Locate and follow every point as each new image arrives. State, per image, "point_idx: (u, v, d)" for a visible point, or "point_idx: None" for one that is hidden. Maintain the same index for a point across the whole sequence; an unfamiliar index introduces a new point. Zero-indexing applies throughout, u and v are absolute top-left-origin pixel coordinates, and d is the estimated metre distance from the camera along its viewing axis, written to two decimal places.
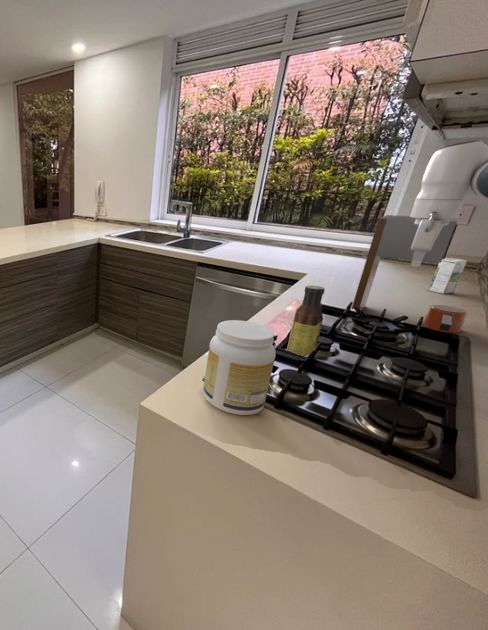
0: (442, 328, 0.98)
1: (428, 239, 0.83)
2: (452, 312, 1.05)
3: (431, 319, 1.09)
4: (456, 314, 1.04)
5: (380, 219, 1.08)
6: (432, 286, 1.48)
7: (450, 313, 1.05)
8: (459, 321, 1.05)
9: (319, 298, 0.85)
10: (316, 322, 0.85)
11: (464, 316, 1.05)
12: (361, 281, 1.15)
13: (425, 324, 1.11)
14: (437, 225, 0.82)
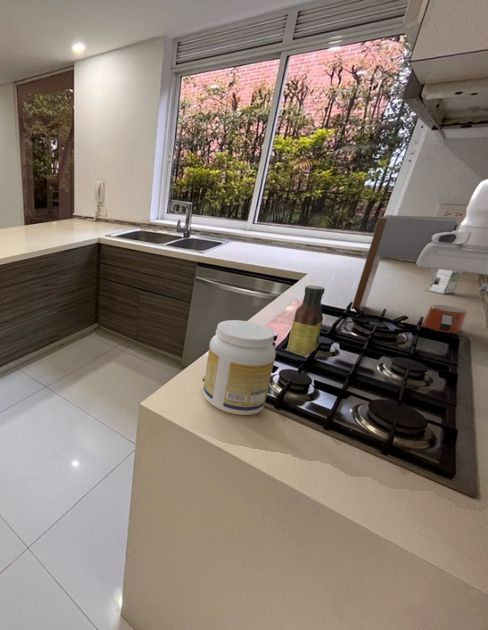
0: (442, 328, 0.98)
1: None
2: (452, 312, 1.05)
3: (431, 319, 1.09)
4: (456, 314, 1.04)
5: (380, 219, 1.08)
6: (432, 286, 1.48)
7: (450, 313, 1.05)
8: (459, 321, 1.05)
9: (319, 298, 0.85)
10: (316, 322, 0.85)
11: (464, 316, 1.05)
12: (361, 281, 1.15)
13: (425, 324, 1.11)
14: None
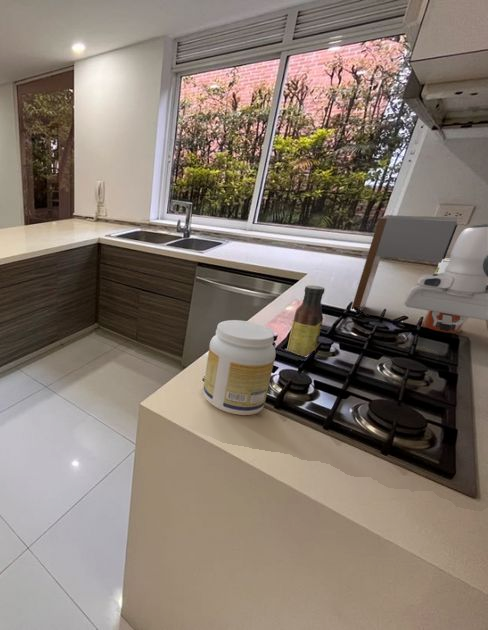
0: (442, 328, 0.98)
1: None
2: None
3: (431, 319, 1.09)
4: None
5: (380, 219, 1.08)
6: None
7: None
8: None
9: (319, 298, 0.85)
10: (316, 322, 0.85)
11: None
12: (361, 281, 1.15)
13: (425, 324, 1.11)
14: None
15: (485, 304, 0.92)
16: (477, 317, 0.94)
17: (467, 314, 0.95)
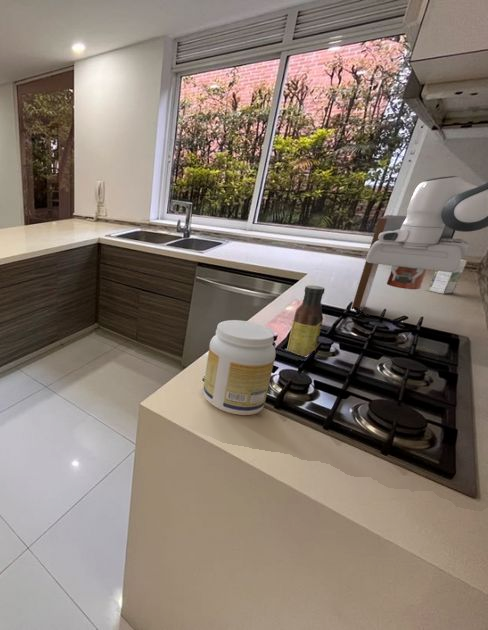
0: (400, 281, 1.03)
1: None
2: (412, 269, 1.09)
3: None
4: (416, 270, 1.09)
5: (380, 219, 1.08)
6: (432, 286, 1.48)
7: (410, 270, 1.09)
8: (419, 277, 1.09)
9: (319, 298, 0.85)
10: (316, 322, 0.85)
11: (424, 272, 1.09)
12: (361, 281, 1.15)
13: (388, 282, 1.15)
14: None
15: (438, 255, 0.96)
16: (431, 268, 0.98)
17: (422, 266, 0.99)
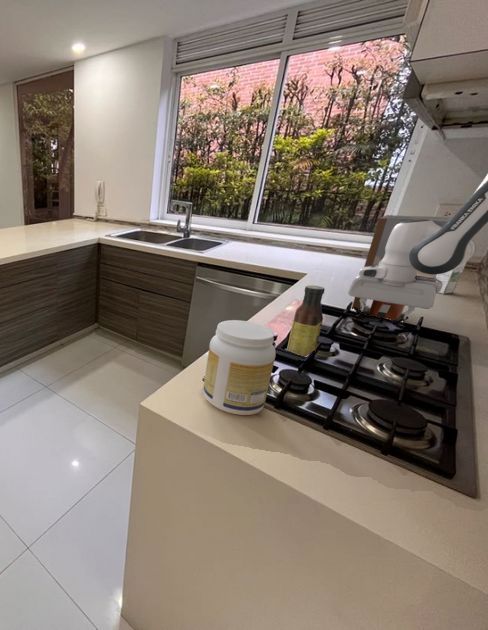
0: (379, 316, 1.08)
1: None
2: None
3: (375, 309, 1.19)
4: (395, 304, 1.14)
5: (380, 219, 1.08)
6: None
7: (390, 303, 1.15)
8: (398, 310, 1.15)
9: (319, 298, 0.85)
10: (316, 322, 0.85)
11: (402, 305, 1.14)
12: None
13: (370, 313, 1.21)
14: None
15: (414, 292, 1.02)
16: (408, 304, 1.03)
17: (400, 302, 1.04)
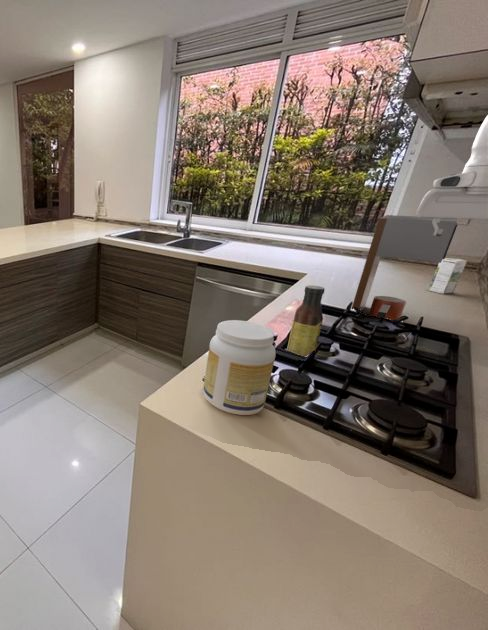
0: (379, 316, 1.08)
1: None
2: (392, 302, 1.15)
3: (375, 309, 1.19)
4: (395, 304, 1.14)
5: (380, 219, 1.08)
6: (432, 286, 1.48)
7: (390, 303, 1.15)
8: (398, 310, 1.15)
9: (319, 298, 0.85)
10: (316, 322, 0.85)
11: (402, 305, 1.14)
12: (361, 281, 1.15)
13: (370, 313, 1.21)
14: None
15: None
16: None
17: None
